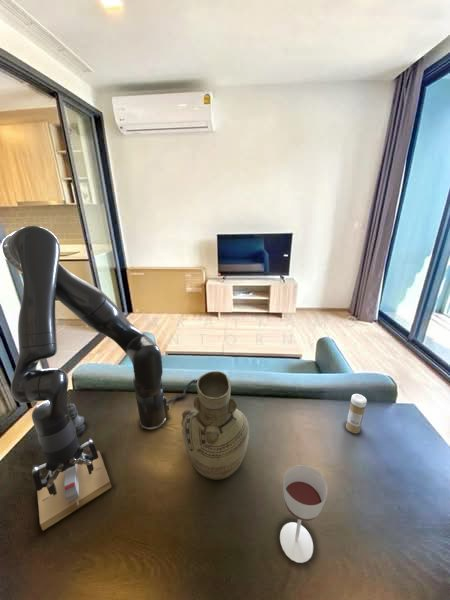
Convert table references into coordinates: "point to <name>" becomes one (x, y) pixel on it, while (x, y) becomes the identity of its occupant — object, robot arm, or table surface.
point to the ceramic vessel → (215, 428)
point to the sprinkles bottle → (356, 413)
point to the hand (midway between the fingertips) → (73, 481)
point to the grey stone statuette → (76, 419)
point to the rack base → (59, 507)
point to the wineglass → (301, 509)
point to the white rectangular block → (71, 483)
